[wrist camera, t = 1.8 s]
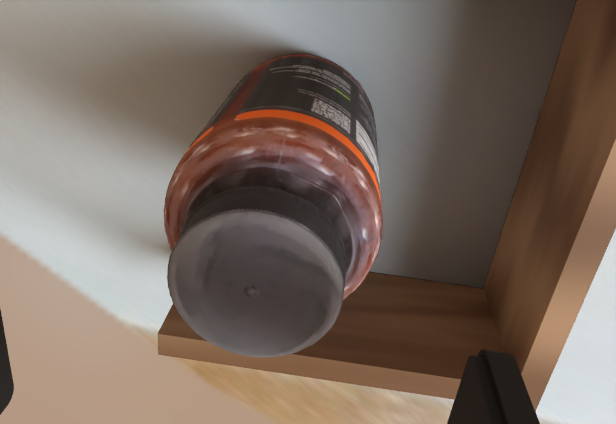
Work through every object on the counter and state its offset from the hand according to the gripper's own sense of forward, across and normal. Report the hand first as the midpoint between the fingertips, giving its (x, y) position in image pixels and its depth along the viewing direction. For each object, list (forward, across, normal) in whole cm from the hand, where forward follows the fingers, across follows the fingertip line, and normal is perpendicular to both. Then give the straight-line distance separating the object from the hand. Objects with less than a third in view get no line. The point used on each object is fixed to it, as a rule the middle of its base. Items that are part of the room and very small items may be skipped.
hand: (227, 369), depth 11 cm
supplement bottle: (+13, 0, -1) cm, 13 cm away
